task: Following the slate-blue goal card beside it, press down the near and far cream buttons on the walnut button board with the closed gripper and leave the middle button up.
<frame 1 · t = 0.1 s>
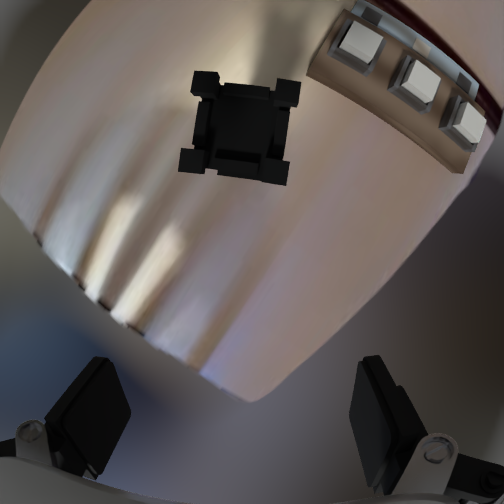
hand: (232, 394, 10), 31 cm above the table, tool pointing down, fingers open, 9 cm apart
button middle: (420, 81, 28), point 6 cm above the table, slide at 0.0 cm
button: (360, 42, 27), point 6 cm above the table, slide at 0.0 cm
board: (402, 91, 34), on the table
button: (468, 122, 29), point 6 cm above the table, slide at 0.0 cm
chess piece: (252, 149, 37), on the table
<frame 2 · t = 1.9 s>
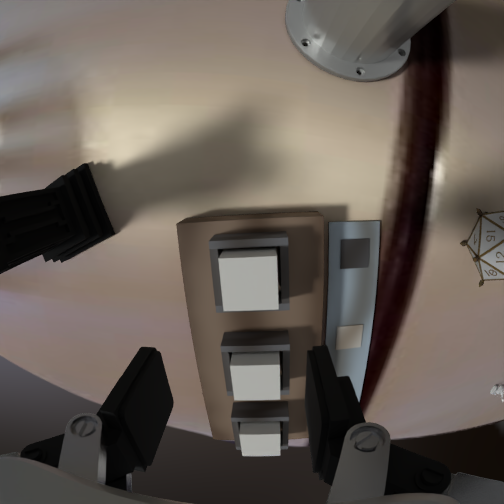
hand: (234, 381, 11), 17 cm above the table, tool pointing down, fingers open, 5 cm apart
button middle: (256, 375, 24), point 6 cm above the table, slide at 0.0 cm
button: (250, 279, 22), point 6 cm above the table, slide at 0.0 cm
board: (258, 341, 30), on the table
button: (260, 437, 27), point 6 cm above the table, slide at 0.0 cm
game die: (477, 236, 26), on the table
chess piece: (75, 214, 27), on the table
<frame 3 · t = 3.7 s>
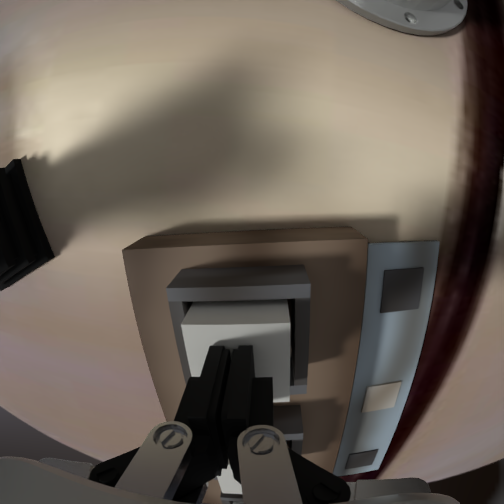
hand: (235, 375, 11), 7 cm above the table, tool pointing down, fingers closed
button middle: (253, 466, 14), point 6 cm above the table, slide at 0.0 cm
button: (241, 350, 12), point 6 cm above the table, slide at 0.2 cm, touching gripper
board: (256, 404, 20), on the table
chess piece: (10, 228, 18), on the table
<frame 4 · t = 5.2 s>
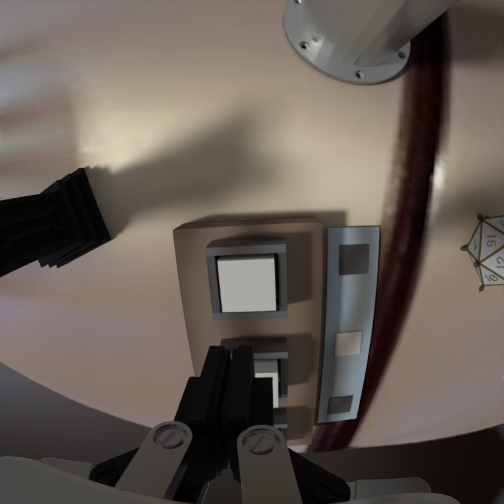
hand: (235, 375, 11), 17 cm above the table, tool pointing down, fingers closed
button middle: (254, 382, 24), point 6 cm above the table, slide at 0.0 cm
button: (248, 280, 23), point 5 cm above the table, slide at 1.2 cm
board: (256, 347, 29), on the table
game die: (477, 241, 26), on the table
chess piece: (71, 219, 27), on the table
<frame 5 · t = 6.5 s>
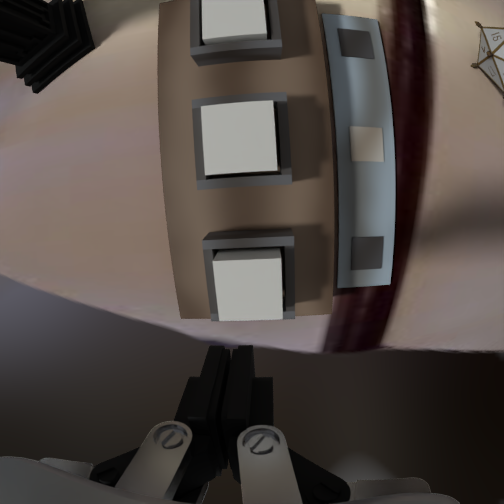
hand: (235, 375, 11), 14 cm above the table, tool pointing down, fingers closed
button middle: (240, 138, 17), point 6 cm above the table, slide at 0.0 cm
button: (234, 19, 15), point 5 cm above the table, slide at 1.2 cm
board: (247, 145, 22), on the table
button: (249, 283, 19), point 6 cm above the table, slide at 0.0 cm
game die: (487, 68, 18), on the table
chess piece: (59, 45, 20), on the table
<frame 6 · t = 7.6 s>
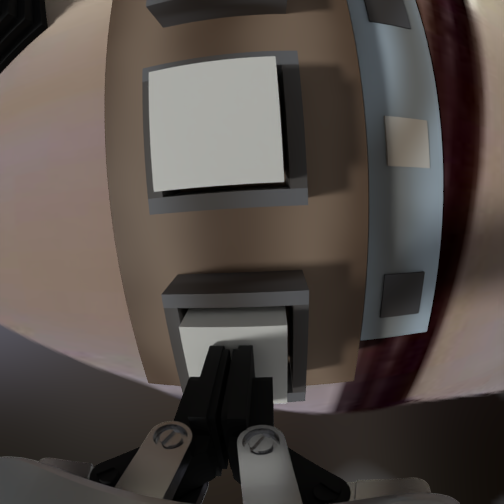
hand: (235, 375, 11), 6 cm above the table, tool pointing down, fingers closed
button middle: (218, 126, 9), point 6 cm above the table, slide at 0.0 cm
board: (236, 142, 15), on the table
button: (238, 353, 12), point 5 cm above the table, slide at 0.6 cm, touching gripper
chess piece: (13, 30, 12), on the table
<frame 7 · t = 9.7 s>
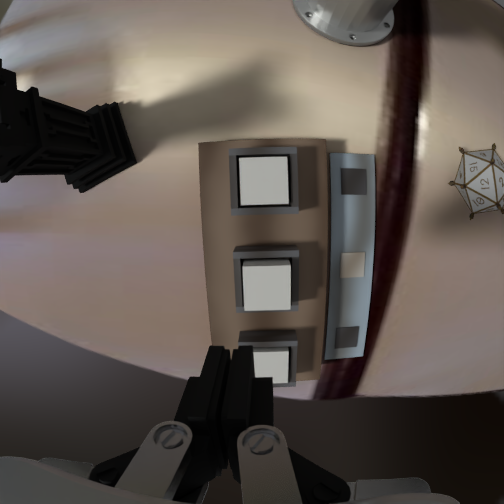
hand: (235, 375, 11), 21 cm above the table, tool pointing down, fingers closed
button middle: (266, 284, 26), point 6 cm above the table, slide at 0.0 cm
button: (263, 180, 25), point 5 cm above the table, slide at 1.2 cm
board: (265, 266, 32), on the table
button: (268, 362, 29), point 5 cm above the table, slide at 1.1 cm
game die: (464, 180, 29), on the table
chess piece: (99, 147, 30), on the table
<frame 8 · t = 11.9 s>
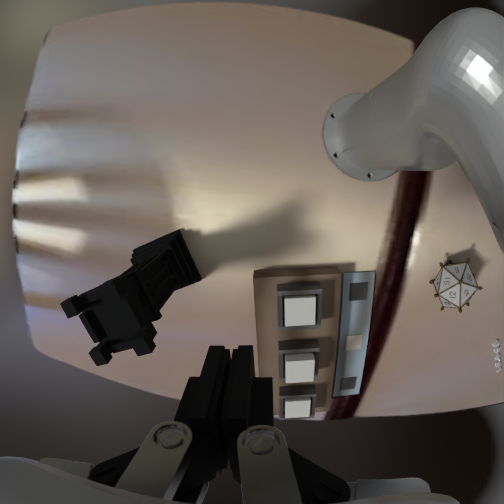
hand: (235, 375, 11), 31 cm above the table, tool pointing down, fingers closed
button middle: (299, 367, 40), point 6 cm above the table, slide at 0.0 cm
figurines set: (494, 355, 46), on the table
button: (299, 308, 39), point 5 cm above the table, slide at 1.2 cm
board: (296, 345, 46), on the table
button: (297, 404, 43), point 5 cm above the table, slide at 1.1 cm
game die: (442, 276, 42), on the table
chess piece: (167, 263, 43), on the table
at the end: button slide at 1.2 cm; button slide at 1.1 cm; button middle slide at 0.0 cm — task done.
